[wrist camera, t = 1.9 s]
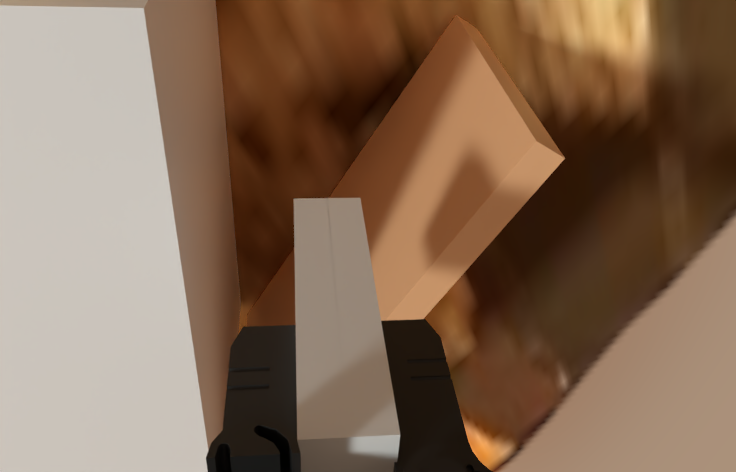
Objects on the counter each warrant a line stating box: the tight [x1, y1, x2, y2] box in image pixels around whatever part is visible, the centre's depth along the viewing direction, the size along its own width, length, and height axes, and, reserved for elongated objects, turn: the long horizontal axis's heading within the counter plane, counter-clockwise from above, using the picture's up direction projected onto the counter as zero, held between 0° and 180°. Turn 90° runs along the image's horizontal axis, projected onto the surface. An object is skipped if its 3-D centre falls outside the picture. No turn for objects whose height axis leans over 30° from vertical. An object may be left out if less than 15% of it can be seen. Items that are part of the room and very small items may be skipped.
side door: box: [247, 15, 565, 327], centre depth 25 cm, size 17×2×10 cm, turn 147°
